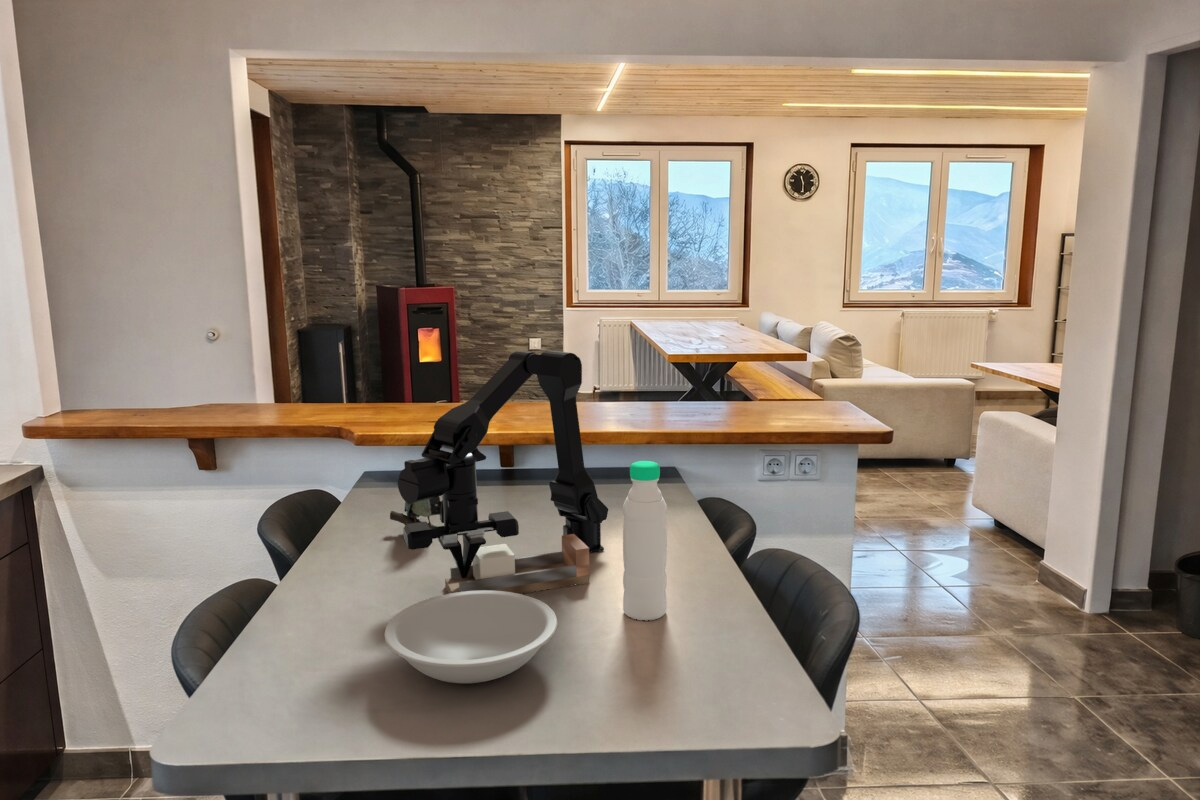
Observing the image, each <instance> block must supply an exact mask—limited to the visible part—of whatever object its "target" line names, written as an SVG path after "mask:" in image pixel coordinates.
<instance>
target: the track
mask: <svg viewBox="0 0 1200 800" xmlns="http://www.w3.org/2000/svg"><path fill="white" fill-rule="evenodd" d="M449 570H450V577H449V578H448V577H447V578H445V579H444V584H445V585H444V586H445V589H446V591H447V594H450V593H456V592H464V591H478V590H491V591H505V592H512V593H518V594H522V593H524V594H528V593H527V592H530V593H535V592H534V591H536V592H541V591H540V590H543V591H547V590H546V589H549V590H554V588H555V589H560V587H562V588H567V587H566V586H568V587H572V586H571V585H574V586H576V585H575V584H580V585H584V584H583V583H587V584H590V583H591V582H590V552H589V547H588V546H586V545H585V544H584V543H583V542H582V541H581V540H580V539H579V538H578V537H577V536H576V535H575V534H570V535H563V534H562V535H561V551H556V552H555V551H554V552H549V553H542V554H534V555H529V556H520V557H515V574H511V575H504V576H497V577H491V578H484V579H477V580H476V579H475V577H474V576H473V563H472V564H471V567H470V569H469V572H468V575H467V577H466V578H461V576H460V573H459V571H458V568H457V566H450V569H449ZM522 595H523V594H522Z"/></svg>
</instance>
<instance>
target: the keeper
mask: <svg viewBox="0 0 1200 800" xmlns="http://www.w3.org/2000/svg"><path fill="white" fill-rule="evenodd" d="M515 556H516V555H515V553H514V552H513V551H512V549H511V548H510V547H509V546H508V545H507V544H506V543H500V544H493V545H486V546H480V548H479V550H478V551H477V553H476V555H475V557H474V559H473V562H472V564H473V576H474V577H475V579H476V580H477V579H484V578H491V577H497V576H504V575H511V574H515V558H516V557H515Z"/></svg>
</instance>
